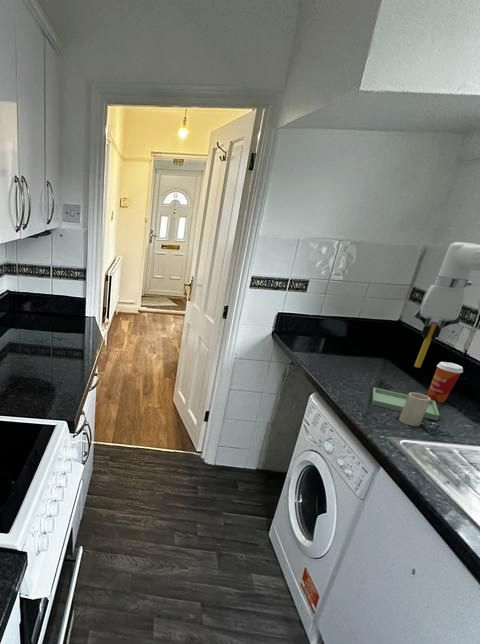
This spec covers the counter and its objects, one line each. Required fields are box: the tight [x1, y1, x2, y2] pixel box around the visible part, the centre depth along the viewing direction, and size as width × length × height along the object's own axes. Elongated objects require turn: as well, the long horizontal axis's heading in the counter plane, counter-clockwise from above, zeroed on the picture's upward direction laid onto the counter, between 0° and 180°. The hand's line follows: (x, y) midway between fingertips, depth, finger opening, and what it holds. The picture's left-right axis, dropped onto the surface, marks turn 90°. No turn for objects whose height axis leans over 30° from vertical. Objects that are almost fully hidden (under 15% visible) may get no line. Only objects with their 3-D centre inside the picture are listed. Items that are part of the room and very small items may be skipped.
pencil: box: [413, 320, 439, 369], centre depth 141 cm, size 2×2×16 cm
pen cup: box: [398, 391, 431, 427], centre depth 135 cm, size 6×6×10 cm
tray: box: [371, 387, 441, 422], centre depth 149 cm, size 19×14×2 cm
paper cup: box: [426, 361, 464, 403], centre depth 153 cm, size 8×8×14 cm
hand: (428, 337), depth 140 cm, fingers closed on pencil, 1 cm apart
